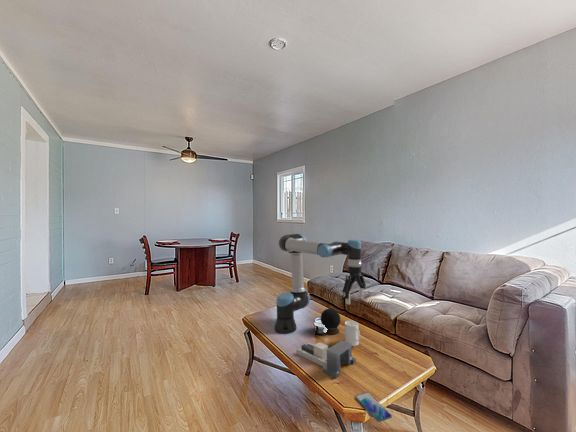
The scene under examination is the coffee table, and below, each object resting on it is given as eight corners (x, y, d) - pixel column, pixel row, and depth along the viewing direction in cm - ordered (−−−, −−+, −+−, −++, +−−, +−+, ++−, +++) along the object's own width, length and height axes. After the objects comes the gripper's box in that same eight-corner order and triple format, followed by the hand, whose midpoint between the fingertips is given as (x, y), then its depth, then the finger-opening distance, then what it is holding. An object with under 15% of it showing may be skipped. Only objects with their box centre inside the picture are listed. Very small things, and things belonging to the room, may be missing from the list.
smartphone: (368, 391, 117) (392, 416, 103) (368, 393, 117) (392, 418, 103) (354, 395, 114) (377, 421, 100) (354, 397, 114) (377, 423, 100)
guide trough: (296, 353, 150) (296, 349, 150) (308, 346, 158) (308, 342, 158) (328, 369, 135) (328, 364, 135) (340, 360, 143) (340, 355, 143)
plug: (300, 351, 152) (300, 339, 152) (305, 348, 156) (305, 336, 156) (322, 362, 141) (322, 349, 141) (328, 358, 145) (327, 345, 145)
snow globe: (316, 330, 179) (316, 308, 178) (329, 325, 187) (329, 304, 187) (331, 337, 168) (331, 314, 168) (344, 331, 177) (344, 309, 177)
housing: (322, 371, 133) (322, 351, 132) (342, 356, 146) (342, 337, 146) (335, 378, 127) (335, 357, 127) (355, 362, 141) (355, 342, 141)
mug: (365, 347, 156) (365, 326, 156) (353, 350, 153) (353, 329, 153) (353, 338, 167) (353, 319, 167) (341, 340, 164) (341, 321, 164)
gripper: (347, 270, 146) (347, 308, 146) (371, 263, 162) (371, 298, 163) (336, 268, 152) (336, 304, 152) (360, 262, 168) (361, 295, 169)
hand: (354, 301), depth 157 cm, fingers open, 13 cm apart
